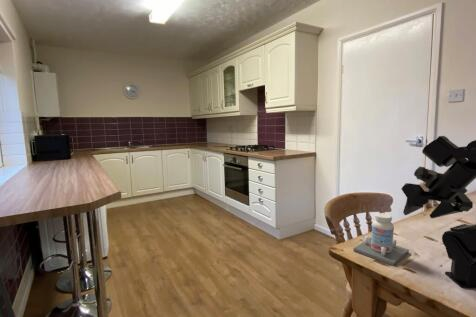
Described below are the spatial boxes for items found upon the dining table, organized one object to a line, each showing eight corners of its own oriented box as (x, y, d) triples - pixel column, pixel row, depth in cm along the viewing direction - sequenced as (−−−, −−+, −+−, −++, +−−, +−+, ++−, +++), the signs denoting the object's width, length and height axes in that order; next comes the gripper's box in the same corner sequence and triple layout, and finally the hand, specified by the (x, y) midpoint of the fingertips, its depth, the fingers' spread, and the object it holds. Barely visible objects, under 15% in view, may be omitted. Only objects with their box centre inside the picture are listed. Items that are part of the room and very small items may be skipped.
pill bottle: (369, 250, 86) (370, 216, 84) (372, 243, 91) (374, 210, 89) (391, 255, 82) (393, 220, 81) (393, 247, 87) (395, 214, 86)
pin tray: (408, 252, 86) (409, 242, 86) (393, 265, 79) (394, 254, 78) (370, 240, 95) (370, 230, 95) (353, 251, 88) (353, 240, 87)
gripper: (464, 163, 79) (428, 198, 89) (409, 154, 76) (378, 191, 85) (493, 192, 70) (450, 227, 80) (432, 183, 67) (395, 220, 77)
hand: (417, 215), depth 81 cm, fingers open, 9 cm apart
